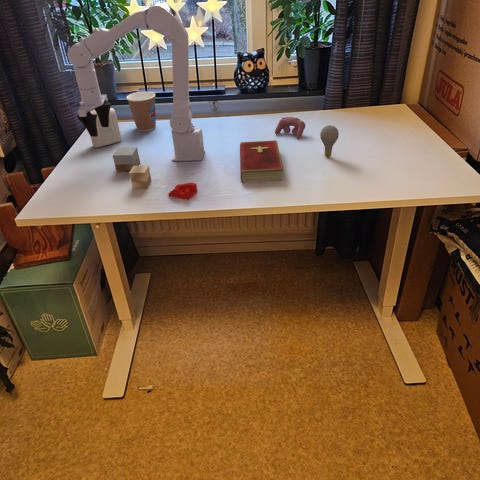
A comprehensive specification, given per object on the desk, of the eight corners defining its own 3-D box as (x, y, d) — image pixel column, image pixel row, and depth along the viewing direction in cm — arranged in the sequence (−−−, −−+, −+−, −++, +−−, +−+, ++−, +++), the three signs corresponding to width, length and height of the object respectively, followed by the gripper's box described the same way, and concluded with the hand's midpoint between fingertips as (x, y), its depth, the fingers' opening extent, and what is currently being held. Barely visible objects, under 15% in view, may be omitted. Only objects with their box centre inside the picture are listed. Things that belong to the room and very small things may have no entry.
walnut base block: (140, 164, 140) (138, 155, 138) (135, 173, 135) (133, 164, 133) (122, 164, 141) (120, 156, 139) (116, 173, 136) (114, 164, 134)
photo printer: (119, 138, 159) (111, 103, 152) (123, 141, 156) (116, 106, 149) (91, 145, 154) (82, 110, 147) (95, 149, 151) (86, 114, 144)
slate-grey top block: (138, 155, 138) (137, 146, 137) (134, 164, 133) (132, 155, 132) (120, 156, 139) (118, 147, 137) (114, 164, 134) (112, 155, 132)
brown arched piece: (303, 140, 152) (308, 120, 151) (298, 139, 148) (303, 118, 147) (278, 135, 157) (282, 115, 155) (273, 134, 153) (277, 113, 151)
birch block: (151, 180, 130) (148, 165, 127) (148, 188, 126) (144, 172, 123) (136, 181, 130) (133, 165, 127) (132, 188, 127) (129, 172, 124)
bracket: (197, 193, 123) (196, 183, 121) (188, 201, 119) (187, 191, 118) (177, 189, 125) (176, 179, 124) (168, 197, 122) (167, 187, 120)
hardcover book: (240, 184, 126) (240, 170, 124) (240, 153, 143) (239, 141, 141) (282, 181, 126) (282, 168, 124) (276, 151, 143) (276, 139, 141)
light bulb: (340, 156, 137) (342, 125, 131) (330, 162, 134) (332, 130, 128) (325, 151, 140) (327, 121, 134) (315, 157, 137) (317, 126, 131)
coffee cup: (157, 132, 161) (152, 99, 154) (130, 133, 162) (123, 101, 155) (162, 122, 170) (157, 90, 163) (135, 123, 170) (129, 92, 163)
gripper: (88, 80, 136) (99, 122, 144) (63, 94, 125) (76, 140, 132) (109, 80, 135) (118, 123, 142) (86, 94, 123) (97, 140, 131)
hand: (99, 131), depth 137 cm, fingers open, 7 cm apart
